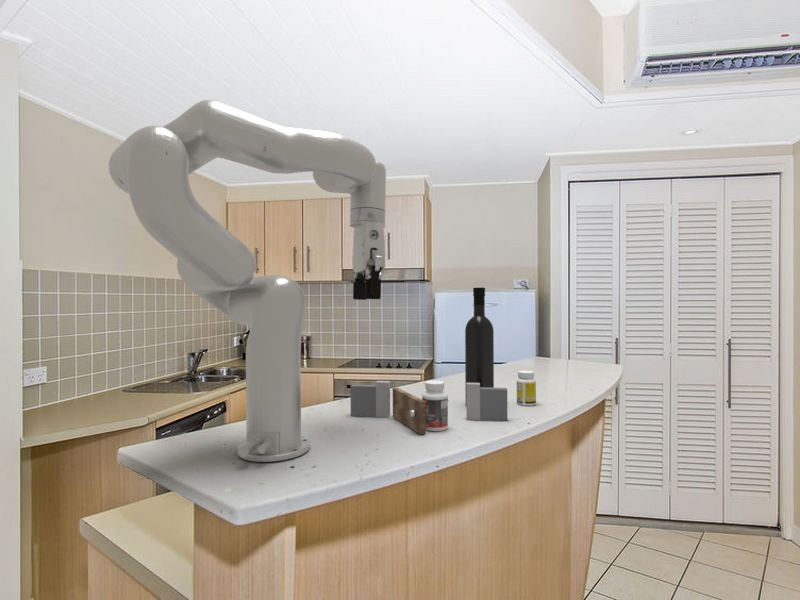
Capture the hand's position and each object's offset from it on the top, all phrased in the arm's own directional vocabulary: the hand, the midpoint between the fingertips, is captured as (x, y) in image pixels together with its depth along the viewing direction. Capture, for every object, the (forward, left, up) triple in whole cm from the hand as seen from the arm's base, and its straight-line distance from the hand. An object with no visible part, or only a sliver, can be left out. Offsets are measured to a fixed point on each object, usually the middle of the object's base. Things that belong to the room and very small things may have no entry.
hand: (366, 299), depth 97 cm
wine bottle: (+20, -25, -27) cm, 42 cm away
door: (+1, -8, -27) cm, 28 cm away
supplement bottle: (+24, -37, -28) cm, 52 cm away
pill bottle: (0, -15, -28) cm, 31 cm away
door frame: (+8, -13, -27) cm, 31 cm away
